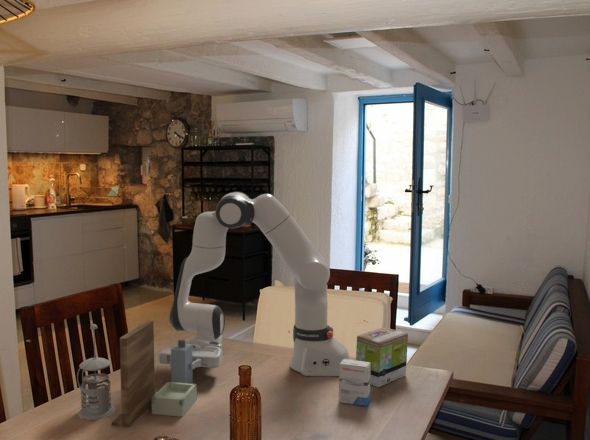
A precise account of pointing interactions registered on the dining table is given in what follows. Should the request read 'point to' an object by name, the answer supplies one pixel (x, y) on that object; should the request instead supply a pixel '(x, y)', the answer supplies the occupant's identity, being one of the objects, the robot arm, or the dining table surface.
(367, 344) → the tea box
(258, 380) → the dining table surface
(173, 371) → the grey block with tab
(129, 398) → the wooden flat block
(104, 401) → the french press
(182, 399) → the pale green open box
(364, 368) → the ink box
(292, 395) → the dining table surface
